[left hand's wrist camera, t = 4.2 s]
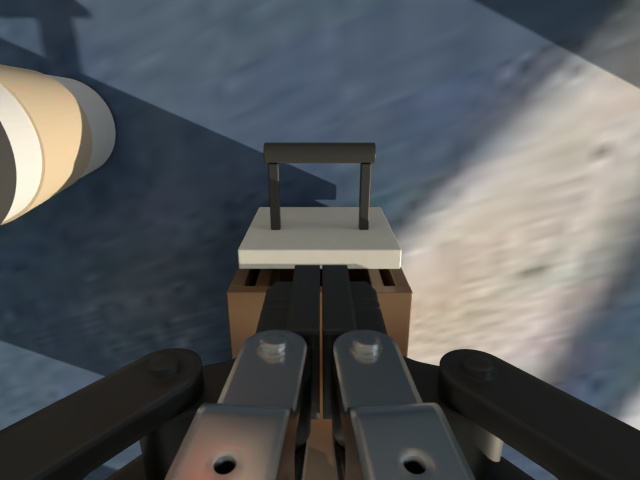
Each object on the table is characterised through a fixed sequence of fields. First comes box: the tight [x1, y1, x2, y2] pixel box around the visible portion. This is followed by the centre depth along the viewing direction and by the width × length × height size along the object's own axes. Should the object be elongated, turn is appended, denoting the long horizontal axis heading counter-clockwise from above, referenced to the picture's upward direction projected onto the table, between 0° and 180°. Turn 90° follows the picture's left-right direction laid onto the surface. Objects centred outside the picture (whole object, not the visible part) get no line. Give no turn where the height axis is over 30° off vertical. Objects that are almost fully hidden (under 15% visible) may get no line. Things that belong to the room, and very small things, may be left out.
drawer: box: [238, 143, 401, 286], centre depth 30 cm, size 25×9×9 cm, turn 0°
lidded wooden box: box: [227, 266, 413, 480], centre depth 32 cm, size 20×10×11 cm, turn 0°
